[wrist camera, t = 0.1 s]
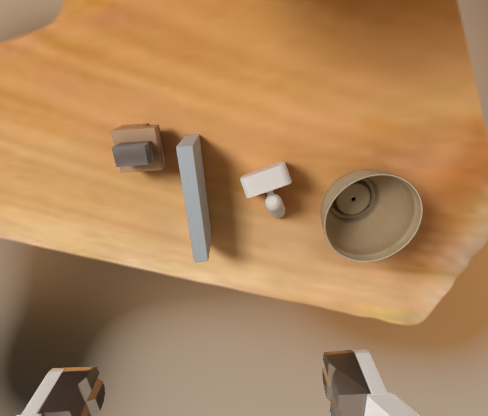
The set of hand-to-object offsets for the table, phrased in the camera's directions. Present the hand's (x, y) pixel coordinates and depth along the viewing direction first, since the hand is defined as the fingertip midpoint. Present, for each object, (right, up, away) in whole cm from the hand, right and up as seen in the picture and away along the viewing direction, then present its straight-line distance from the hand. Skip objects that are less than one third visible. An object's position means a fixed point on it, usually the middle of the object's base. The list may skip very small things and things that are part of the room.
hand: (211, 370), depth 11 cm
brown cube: (-16, +17, +44) cm, 51 cm away
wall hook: (+6, +10, +48) cm, 50 cm away
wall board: (-7, +9, +48) cm, 50 cm away
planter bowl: (+22, +8, +49) cm, 55 cm away
